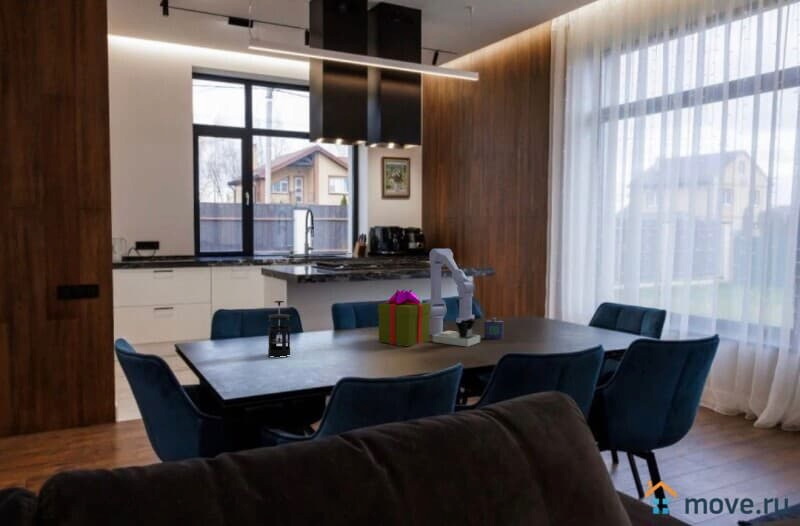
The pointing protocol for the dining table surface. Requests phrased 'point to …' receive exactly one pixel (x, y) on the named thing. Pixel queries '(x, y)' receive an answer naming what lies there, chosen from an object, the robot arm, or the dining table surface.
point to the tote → (457, 340)
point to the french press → (273, 330)
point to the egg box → (449, 334)
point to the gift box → (403, 319)
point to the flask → (493, 329)
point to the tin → (467, 334)
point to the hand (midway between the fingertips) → (465, 336)
